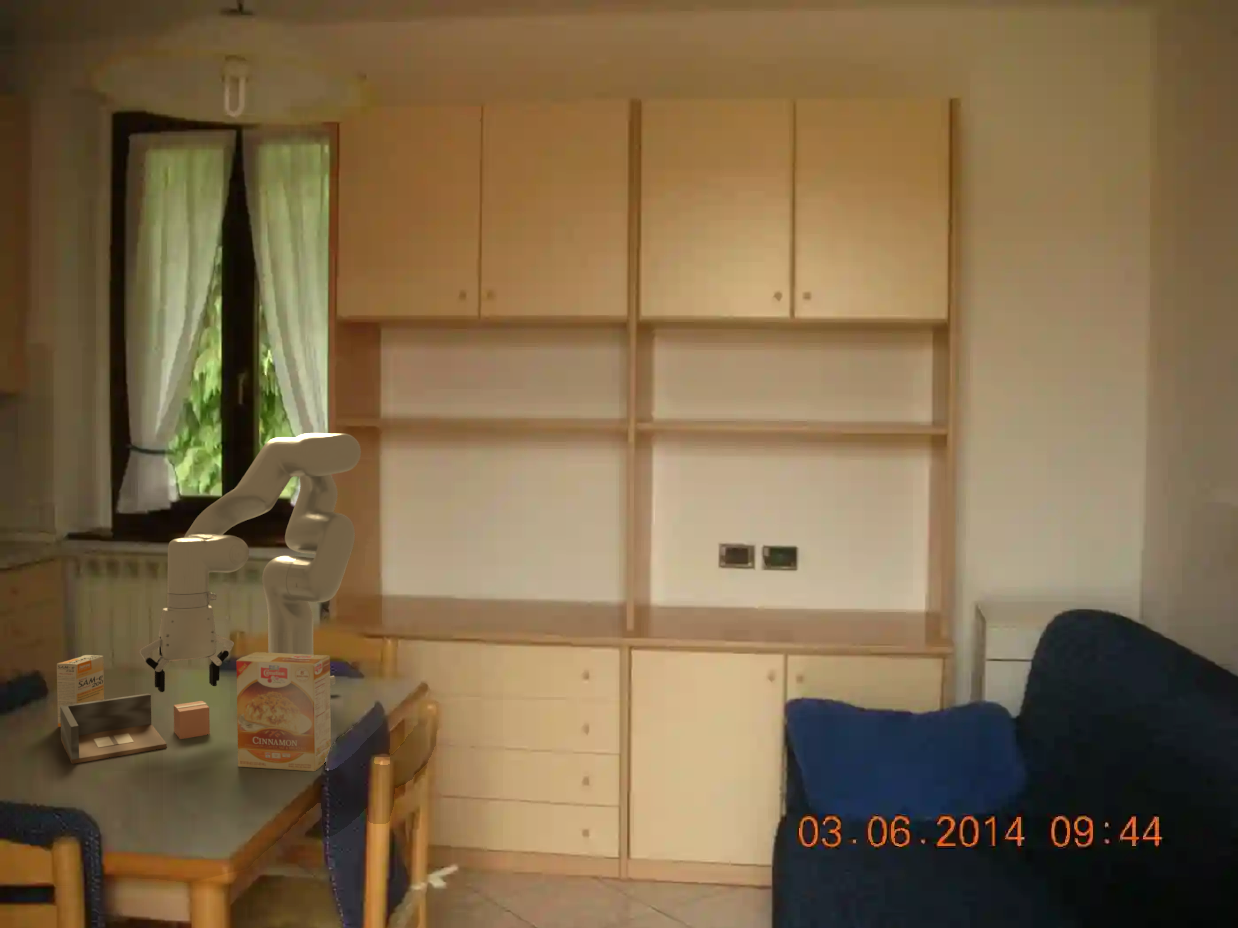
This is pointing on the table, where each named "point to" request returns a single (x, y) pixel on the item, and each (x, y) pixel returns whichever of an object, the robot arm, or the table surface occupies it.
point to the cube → (191, 719)
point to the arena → (108, 728)
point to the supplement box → (80, 681)
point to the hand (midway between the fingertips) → (187, 687)
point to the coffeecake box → (283, 711)
